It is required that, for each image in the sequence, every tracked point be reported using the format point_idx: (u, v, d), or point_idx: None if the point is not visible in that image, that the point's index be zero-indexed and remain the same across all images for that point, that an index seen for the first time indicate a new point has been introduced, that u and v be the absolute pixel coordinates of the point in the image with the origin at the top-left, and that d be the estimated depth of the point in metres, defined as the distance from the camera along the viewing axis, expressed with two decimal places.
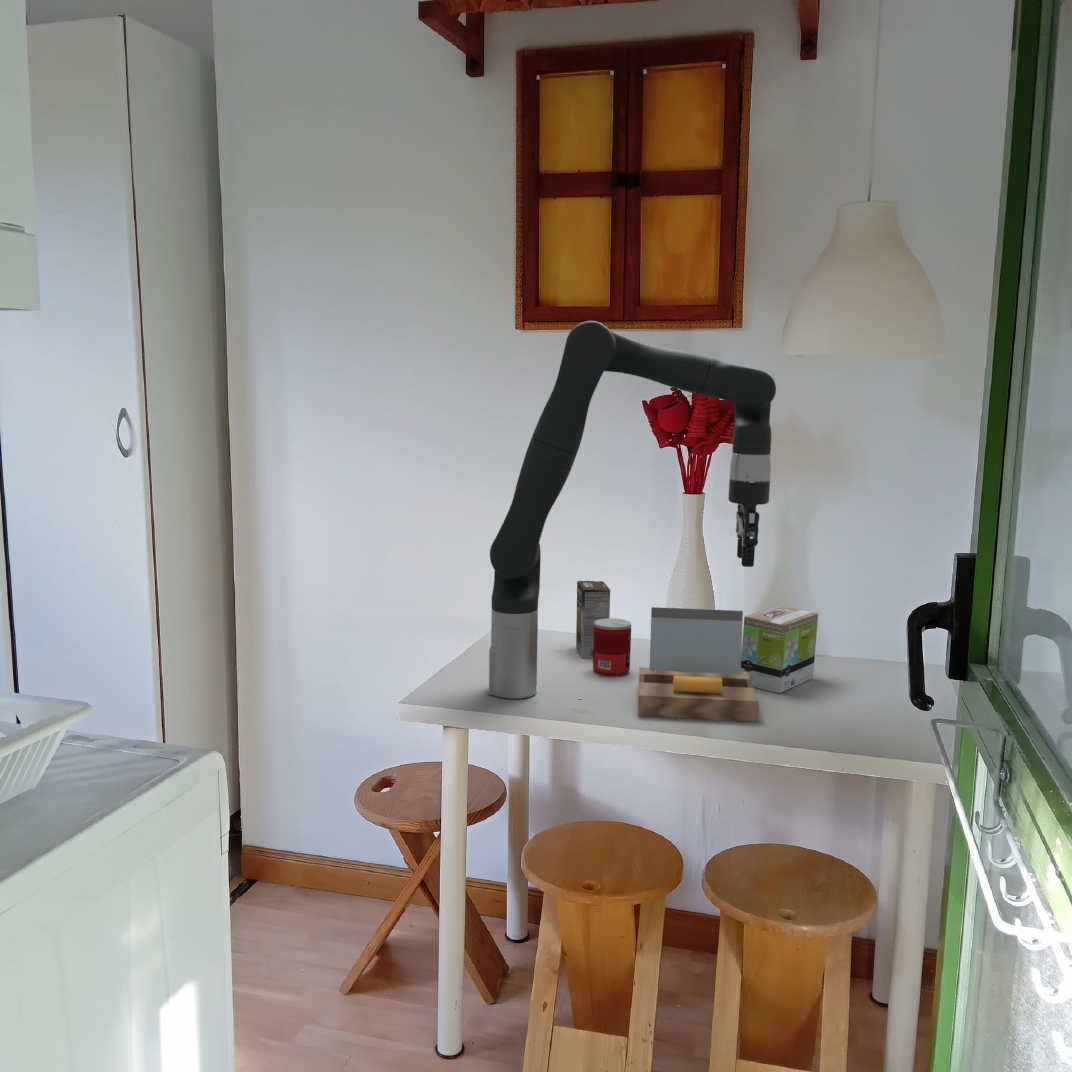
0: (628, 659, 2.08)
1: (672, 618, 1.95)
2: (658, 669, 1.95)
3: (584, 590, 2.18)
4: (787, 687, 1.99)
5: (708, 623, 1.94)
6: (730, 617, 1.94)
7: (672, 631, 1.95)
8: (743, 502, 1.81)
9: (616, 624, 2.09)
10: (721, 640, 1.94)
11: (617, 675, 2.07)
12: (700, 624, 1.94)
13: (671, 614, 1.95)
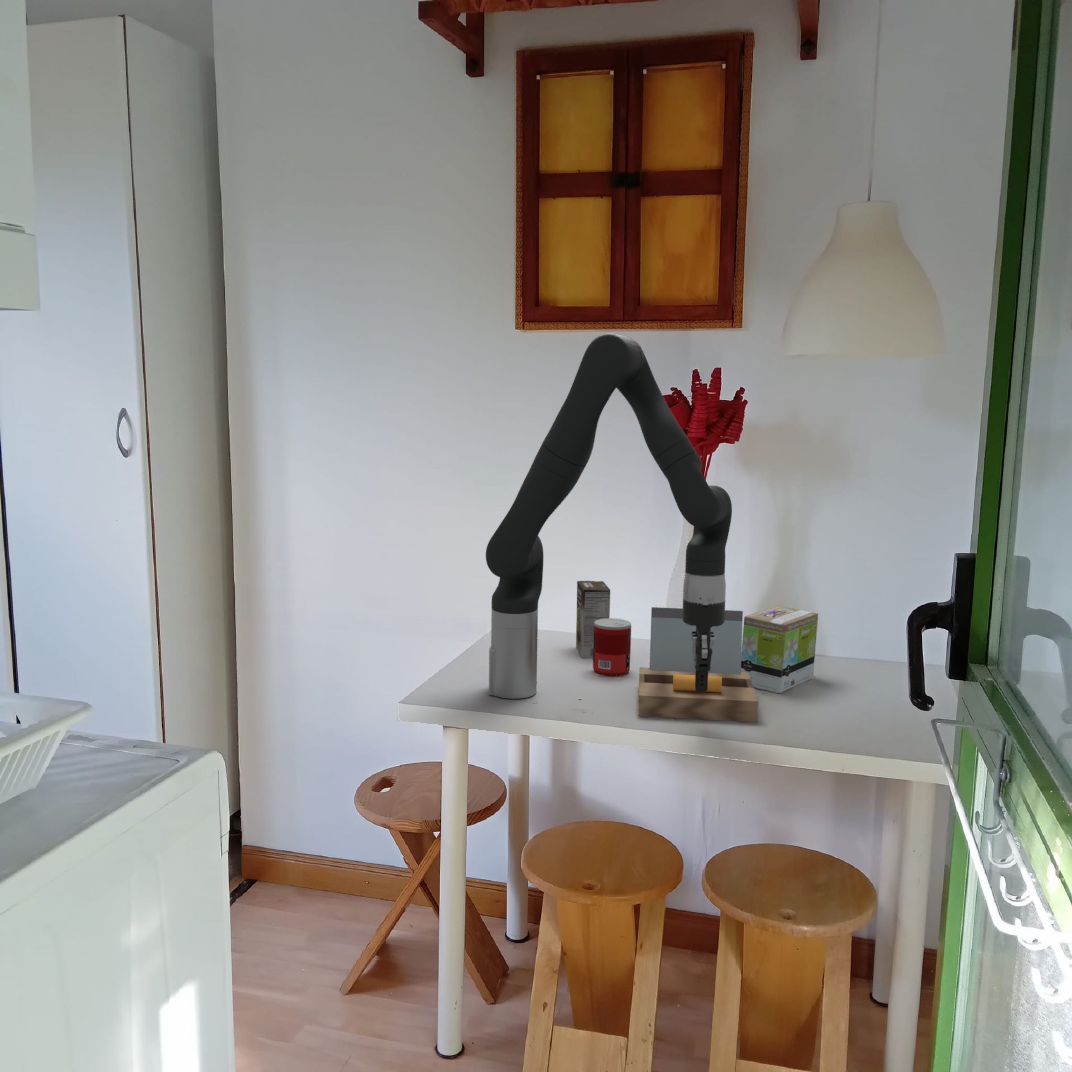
0: (628, 659, 2.08)
1: (672, 618, 1.95)
2: (658, 669, 1.95)
3: (584, 590, 2.18)
4: (787, 687, 1.99)
5: None
6: (730, 617, 1.94)
7: (672, 631, 1.95)
8: (697, 625, 1.73)
9: (616, 624, 2.09)
10: (721, 640, 1.94)
11: (617, 675, 2.07)
12: None
13: (671, 614, 1.95)
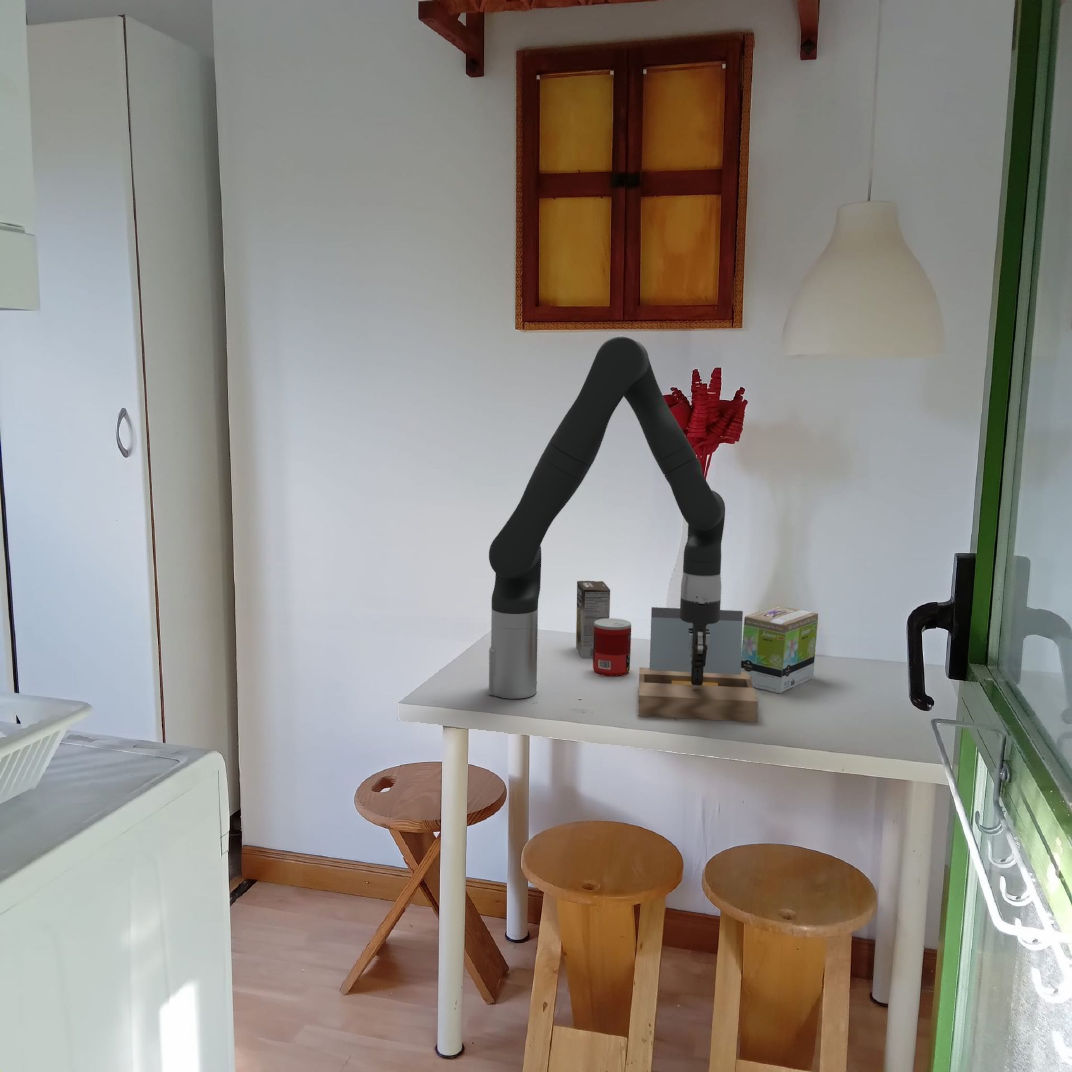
0: (628, 659, 2.08)
1: (672, 618, 1.95)
2: (658, 669, 1.95)
3: (584, 590, 2.18)
4: (787, 687, 1.99)
5: None
6: (730, 617, 1.94)
7: (672, 631, 1.95)
8: (693, 622, 1.81)
9: (616, 624, 2.09)
10: (721, 640, 1.94)
11: (617, 675, 2.07)
12: None
13: (671, 614, 1.95)
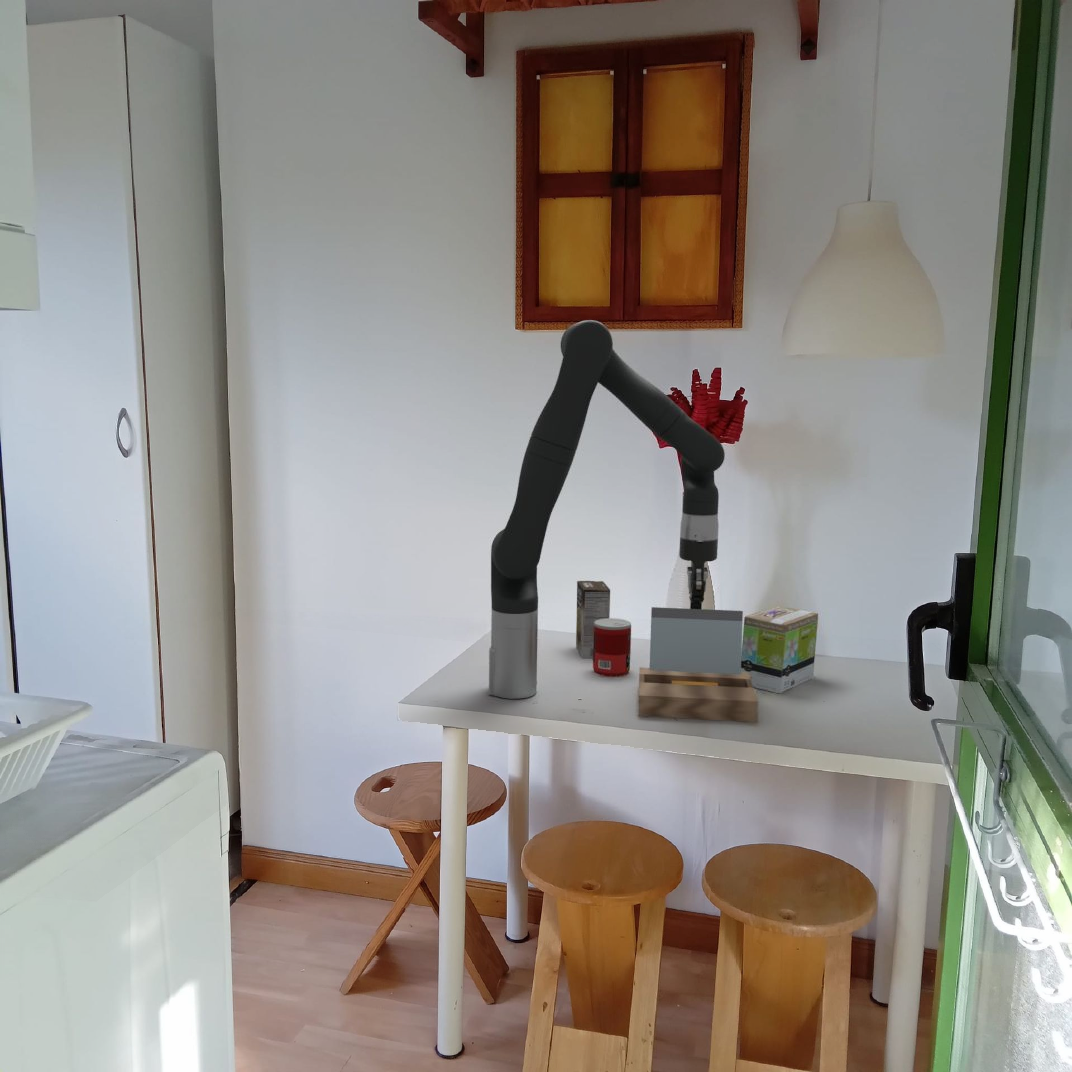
0: (628, 659, 2.08)
1: (672, 618, 1.95)
2: (658, 669, 1.95)
3: (584, 590, 2.18)
4: (787, 687, 1.99)
5: (708, 623, 1.94)
6: (730, 617, 1.94)
7: (672, 631, 1.95)
8: (692, 559, 1.92)
9: (616, 624, 2.09)
10: (721, 640, 1.94)
11: (617, 675, 2.07)
12: (700, 624, 1.94)
13: (671, 614, 1.95)
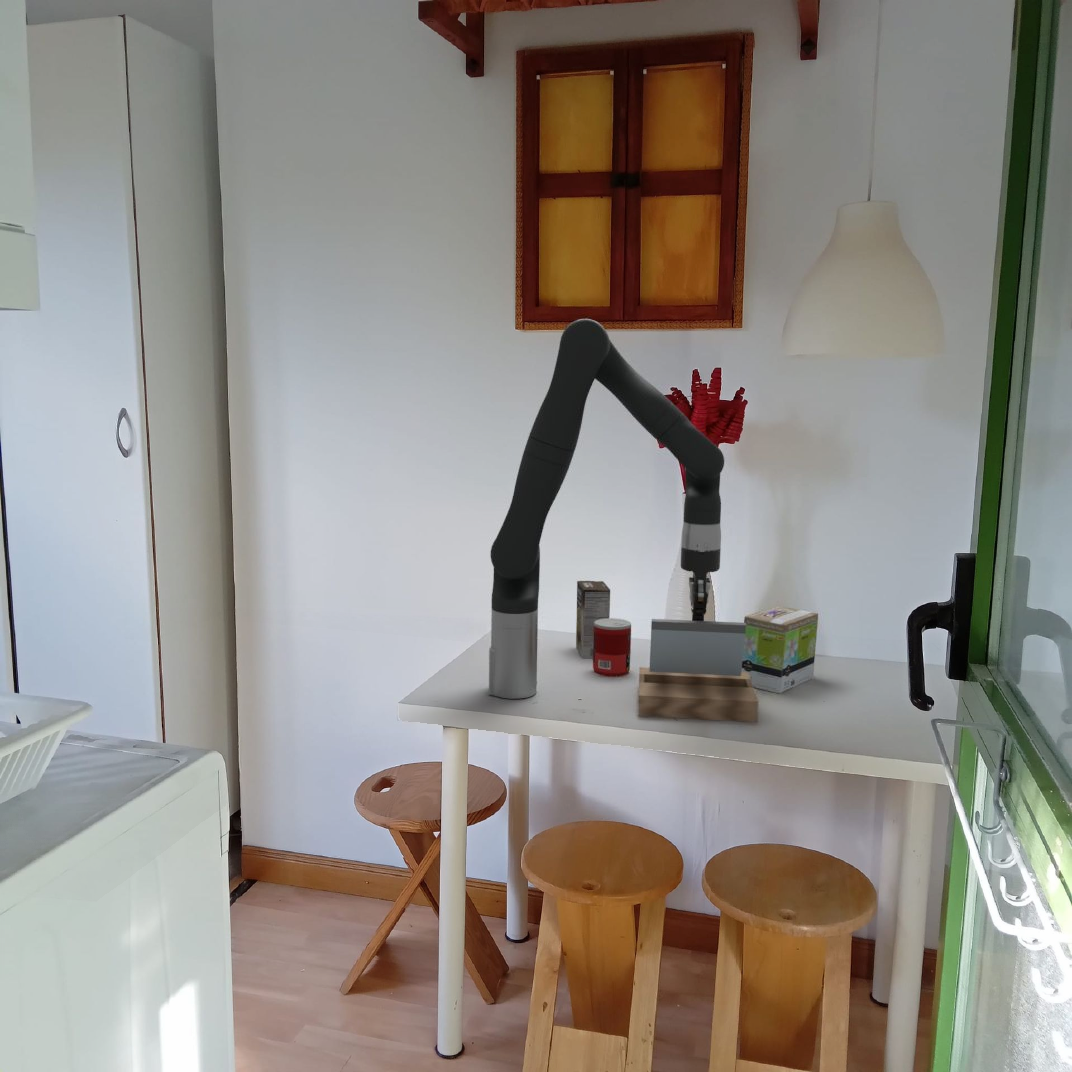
0: (628, 659, 2.08)
1: (673, 630, 1.89)
2: (658, 671, 1.95)
3: (584, 590, 2.18)
4: (787, 687, 1.99)
5: (710, 635, 1.89)
6: (733, 630, 1.88)
7: (672, 641, 1.91)
8: (694, 570, 1.85)
9: (616, 624, 2.09)
10: (722, 649, 1.90)
11: (617, 675, 2.07)
12: (702, 635, 1.89)
13: (672, 627, 1.89)
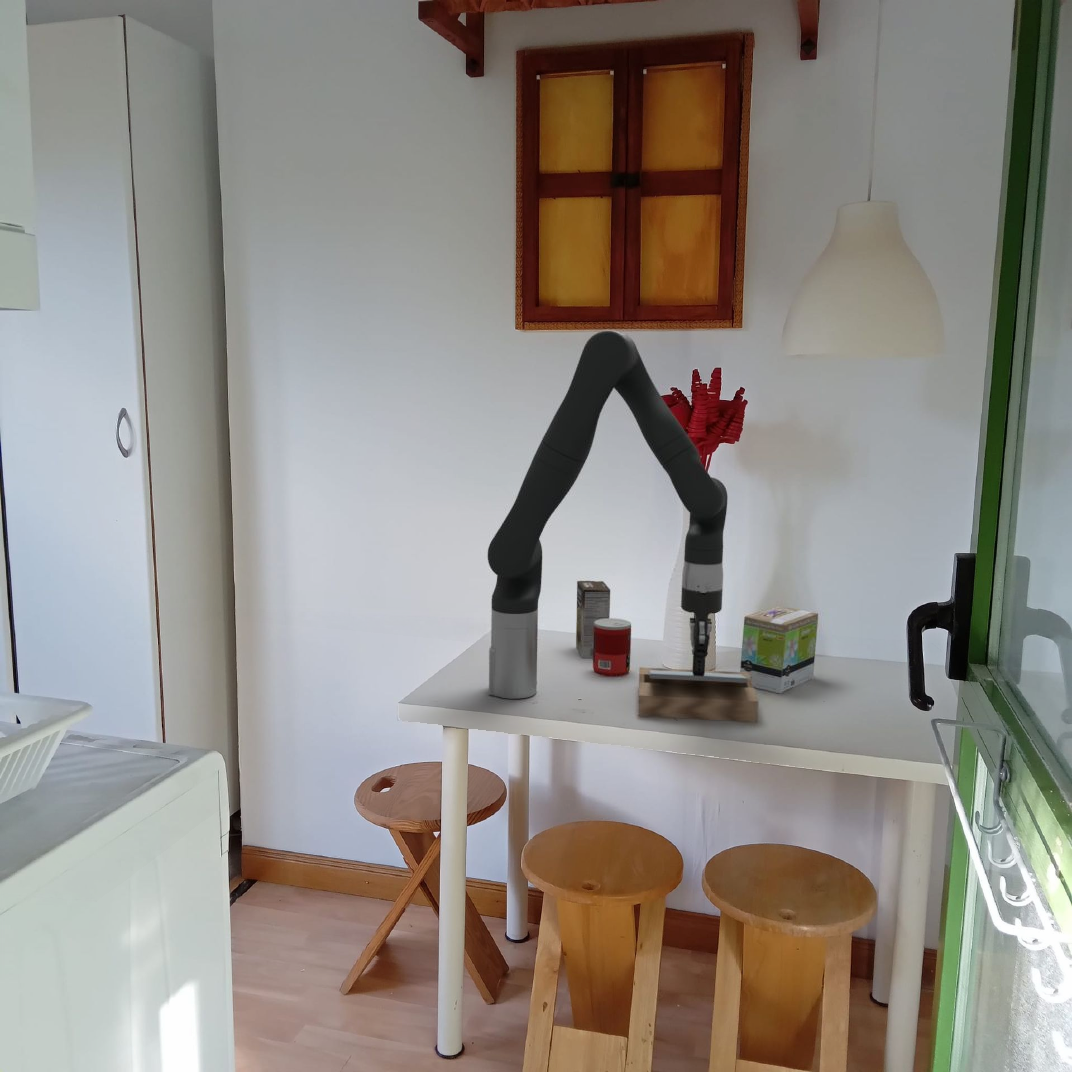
0: (628, 659, 2.08)
1: None
2: None
3: (584, 590, 2.18)
4: (787, 687, 1.99)
5: None
6: None
7: None
8: (695, 612, 1.79)
9: (616, 624, 2.09)
10: None
11: (617, 675, 2.07)
12: None
13: None
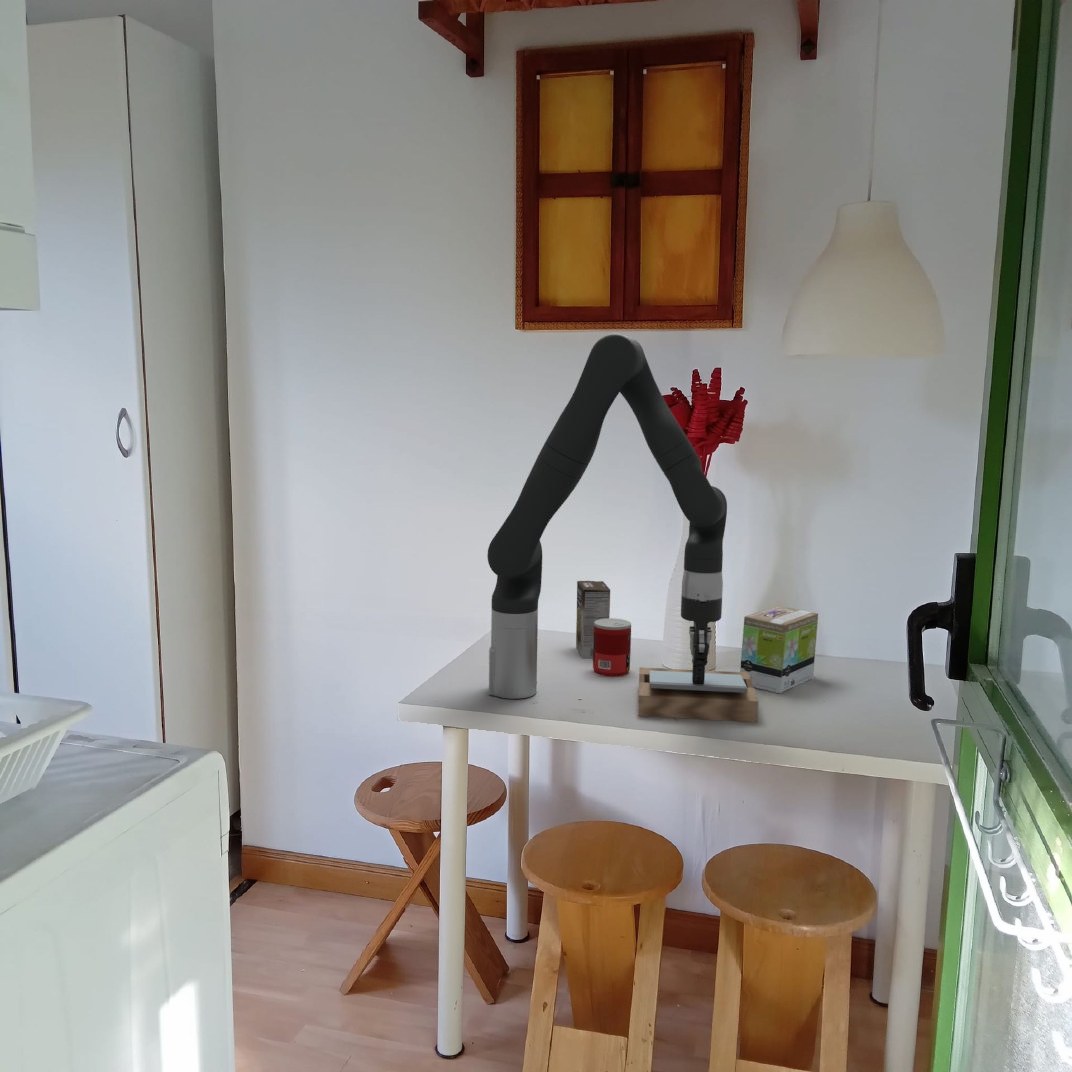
0: (628, 659, 2.08)
1: None
2: None
3: (584, 590, 2.18)
4: (787, 687, 1.99)
5: None
6: None
7: None
8: (694, 620, 1.79)
9: (616, 624, 2.09)
10: None
11: (617, 675, 2.07)
12: None
13: None
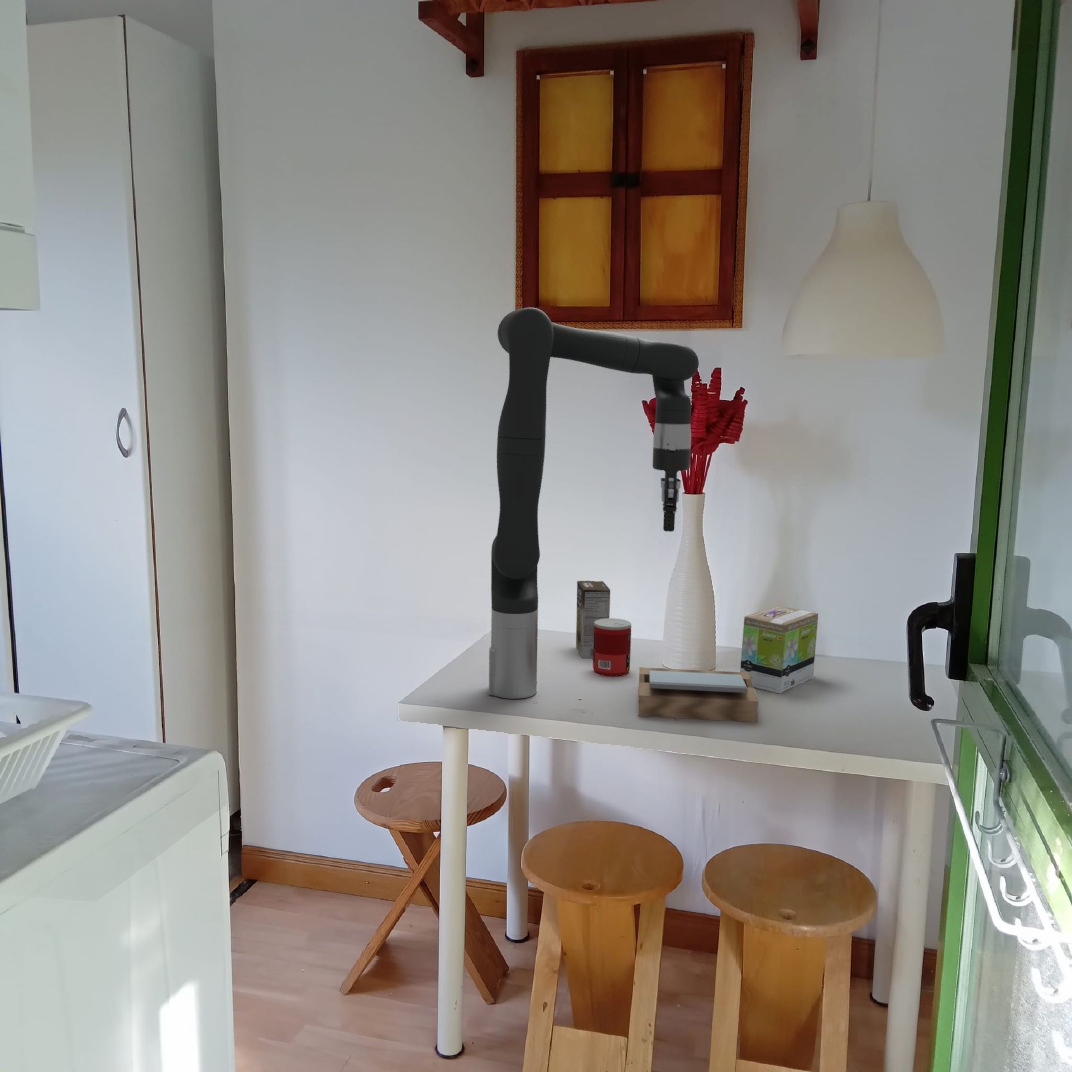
0: (628, 659, 2.08)
1: None
2: None
3: (584, 590, 2.18)
4: (787, 687, 1.99)
5: None
6: None
7: None
8: (664, 468, 1.94)
9: (616, 624, 2.09)
10: None
11: (617, 675, 2.07)
12: None
13: None
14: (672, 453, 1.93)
